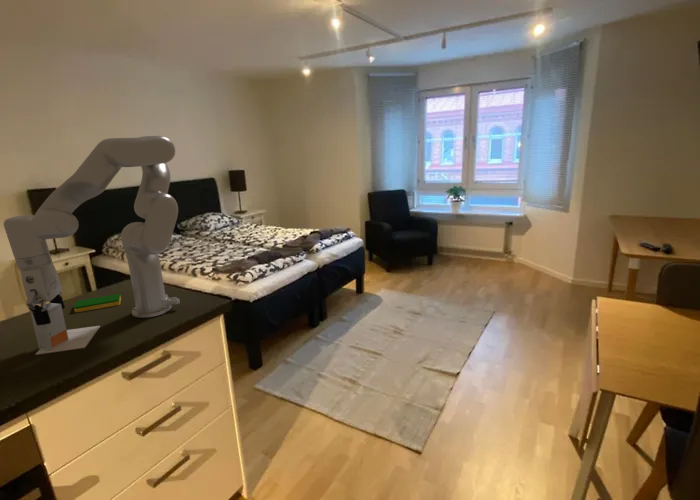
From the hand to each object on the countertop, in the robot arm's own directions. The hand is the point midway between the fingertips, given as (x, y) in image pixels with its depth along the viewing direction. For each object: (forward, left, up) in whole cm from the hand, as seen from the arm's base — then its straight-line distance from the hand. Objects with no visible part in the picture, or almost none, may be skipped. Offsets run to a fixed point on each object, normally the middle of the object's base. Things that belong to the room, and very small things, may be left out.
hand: (51, 316), depth 109 cm
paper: (-2, -2, -9) cm, 10 cm away
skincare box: (+1, 0, -9) cm, 9 cm away
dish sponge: (-2, -29, -10) cm, 31 cm away
